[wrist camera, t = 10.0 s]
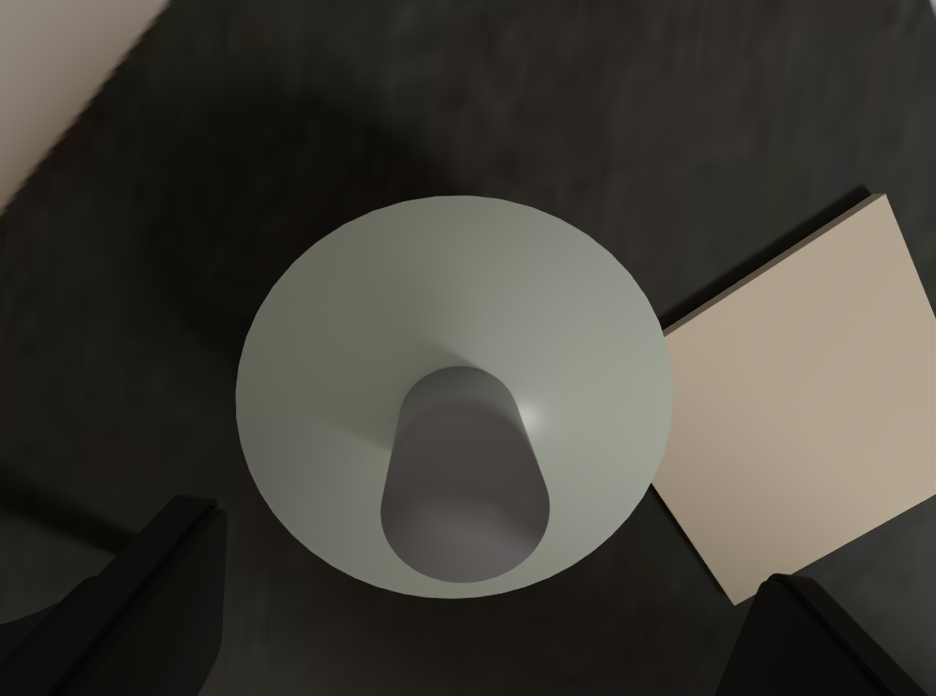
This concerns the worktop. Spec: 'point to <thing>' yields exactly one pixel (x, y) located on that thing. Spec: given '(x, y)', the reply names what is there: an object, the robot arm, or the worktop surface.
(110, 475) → the worktop surface
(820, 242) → the mat
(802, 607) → the robot arm
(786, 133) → the worktop surface
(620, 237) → the worktop surface
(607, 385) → the lid
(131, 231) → the worktop surface
